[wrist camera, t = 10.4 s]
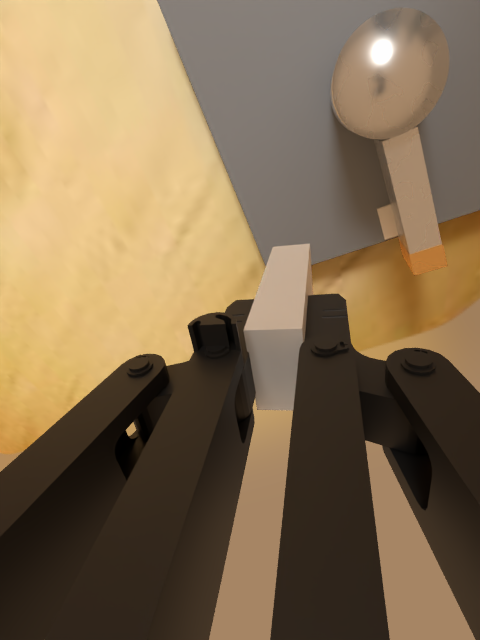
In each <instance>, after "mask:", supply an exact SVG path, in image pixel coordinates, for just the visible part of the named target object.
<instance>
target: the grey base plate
mask: <svg viewBox="0 0 480 640" xmlns="http://www.w3.org/2000/svg"><path fill="white" fill-rule="evenodd" d="M157 1H158V4H159V6H160V9H161V11H162V14H163V16H164V18H165V21H166V23H167V26H168V28H169V31H170V33H171V36H172V38H173V40H174V43H175V45H176V48H177V50H178V53H179V55H180V58H181V60H182V62H183V65H184V67H185V70H186V72H187V75H188V77H189V80H190V82H191V85H192V87H193V89H194V92H195V94H196V97H197V99H198V102H199V104H200V107H201V109H202V111H203V114H204V116H205V119H206V121H207V124H208V126H209V129H210V131H211V133H212V136H213V138H214V141H215V143H216V146H217V148H218V151H219V153H220V156H221V158H222V160H223V163H224V165H225V168H226V170H227V173H228V175H229V178H230V180H231V182H232V185H233V187H234V190H235V192H236V195H237V197H238V200H239V202H240V204H241V207H242V209H243V212H244V214H245V217H246V219H247V222H248V224H249V227H250V229H251V231H252V234H253V236H254V239H255V241H256V244H257V246H258V249H259V251H260V253H261V256H262V258H263V261H264V263H265V266H266V265H267V262H268V259H269V256H270V254H271V251H272V248H273V247H277V246H288V245H299V244H310V253H311V265H313V264H316V263H319V262H322V261H325V260H329V259H332V258H335V257H338V256H341V255H344V254H347V253H350V252H353V251H356V250H359V249H362V248H365V247H368V246H371V245H374V244H378V243H381V242H384V241H387V240H390V239H393V238H396V237H399V236H398V232H397V228H396V224H395V220H394V217H393V213H392V209H391V205H390V201H389V197H388V193H387V189H386V185H385V181H384V177H383V173H382V169H381V165H380V161H379V157H378V153H377V149H376V146H375V142H374V139H370V138H366V137H363V136H360V135H358V134H356V133H353V132H351V131H350V130H348V129H346V128H345V127H344V126H343V125H342V124H341V123H340V122H339V121H338V119H337V118H336V116H335V114H334V112H333V109H332V106H331V102H330V84H331V79H332V75H333V72H334V68H335V65H336V62H337V59H338V56H339V54H340V52H341V50H342V48H343V46H344V45H345V43H346V42H347V40H348V39H349V37H350V36H351V35H352V34H353V32H354V31H355V30H356V29H357V28H358V27H359V26H360V25H361V24H363V23H364V22H365V21H366V20H368V19H369V18H371V17H373V16H374V15H376V14H378V13H380V12H383V11H386V10H389V9H394V8H411V9H416V10H419V11H422V12H423V13H425V14H427V15H429V16H430V17H431V18H432V19H433V20H435V22H436V23H437V24H438V25H439V26H440V28H441V30H442V31H443V33H444V35H445V38H446V40H447V44H448V49H449V71H448V77H447V81H446V84H445V87H444V90H443V92H442V94H441V96H440V98H439V100H438V102H437V103H436V105H435V106H434V108H433V109H432V111H431V112H430V113H429V114H428V115H427V116H426V117H425V118H424V119H423V121H421V122H420V123H419V124H418V125H417V127H418V131H419V135H420V140H421V145H422V150H423V155H424V160H425V165H426V169H427V174H428V179H429V184H430V189H431V194H432V199H433V203H434V208H435V213H436V218H437V223H438V224H439V223H442V222H445V221H448V220H451V219H454V218H457V217H460V216H463V215H466V214H469V213H473V212H476V211H479V210H480V0H157Z"/></svg>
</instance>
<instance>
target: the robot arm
mask: <svg viewBox="0 0 480 640" xmlns="http://www.w3.org/2000/svg"><path fill="white" fill-rule="evenodd" d="M188 329H189V333H190V337H191V341H192V345H193V349H194V353H193V355H192V357H191V359H190V361H187V362H183V363H179V364H174V365H170V366H166V364H165V360H164V359H163V358H162V357H161V356H159V355H156V354H143V355H139V356H136V357H134V358H132V359H129V360H128V361H126V362H125V363H123V364H122V365H121V366H120V367H118V368H117V369H116V370H115V371H114V372H113V373H112V374H111V375H109V376H108V377H107V378H106V379H105V380H104V381H103V382H102V383H100V384H99V385H98V386H97V387H96V388H95V389H94V390H92V391H91V392H90V393H89V394H88V395H87V396H86V397H85V398H83V399H82V400H81V401H80V402H79V403H78V404H77V405H76V406H74V407H73V408H72V409H71V410H70V411H69V412H68V413H66V414H65V415H64V416H63V417H62V418H61V419H60V420H59V421H57V422H56V423H55V424H54V425H53V426H52V427H51V428H50V429H48V430H47V431H46V432H45V433H44V434H43V435H42V436H40V437H39V438H38V439H37V440H36V441H35V442H34V443H33V444H31V445H30V446H29V447H28V448H27V449H26V450H25V451H24V452H22V453H21V454H20V455H19V456H18V457H17V458H16V459H15V460H14V461H12V462H11V463H10V464H9V465H8V466H7V467H5V468H4V469H3V470H2V471H1V472H0V640H209V636H210V631H211V626H212V622H213V616H214V612H215V607H216V603H217V598H218V593H219V589H220V584H221V579H222V574H223V570H224V565H225V560H226V555H227V551H228V546H229V541H230V536H231V532H232V527H233V522H234V517H235V513H236V508H237V503H238V499H239V493H240V489H241V484H242V479H243V475H244V470H245V465H246V460H247V456H248V451H249V446H250V442H251V437H252V432H253V427H254V414H253V408H252V407H253V403H254V399H256V405H257V410H293V419H292V428H291V438H290V449H289V458H288V469H287V478H286V488H285V498H284V509H283V519H282V529H281V538H280V548H279V559H278V569H277V578H276V588H275V599H274V608H273V618H272V628H271V638H270V640H390V639H389V630H388V622H387V615H386V606H385V599H384V590H383V583H382V574H381V566H380V558H379V550H378V542H377V533H376V526H375V517H374V509H373V501H372V493H371V485H370V477H369V469H368V461H367V453H366V445H365V440H366V441H370V442H373V443H376V444H380V445H382V446H383V450H384V453H385V455H386V457H387V459H388V461H389V464H390V465H391V467H392V470H393V472H394V474H395V476H396V478H397V480H398V482H399V484H400V486H401V488H402V490H403V492H404V494H405V496H406V498H407V500H408V502H409V504H410V506H411V508H412V510H413V513H414V515H415V517H416V519H417V520H418V523H419V525H420V527H421V529H422V531H423V533H424V535H425V537H426V539H427V541H428V543H429V545H430V547H431V549H432V551H433V553H434V555H435V557H436V560H437V561H438V564H439V566H440V568H441V570H442V572H443V574H444V576H445V578H446V580H447V582H448V584H449V586H450V588H451V590H452V592H453V594H454V596H455V598H456V600H457V602H458V604H459V606H460V609H461V611H462V613H463V615H464V617H465V619H466V620H467V623H468V625H469V627H470V629H471V631H472V633H473V635H474V637H475V639H476V640H480V393H479V392H478V391H477V390H476V389H475V388H474V387H473V386H472V384H471V383H470V382H469V381H468V380H467V379H466V378H465V377H464V376H463V375H462V374H461V373H460V372H459V371H458V370H457V369H456V368H455V367H454V366H453V364H452V363H451V362H450V361H449V360H447V359H446V358H445V357H443V356H442V355H441V354H439V353H436V352H433V351H431V350H426V349H420V348H404V349H401V350H397V351H395V352H393V353H392V354H390V355H389V356H388V358H387V360H386V361H383V360H377V359H373V358H369V357H367V356H364V355H362V354H360V353H359V352H357V351H356V350H355V349H354V348H353V346H352V344H351V339H350V331H349V323H348V315H347V306H346V300H345V299H344V298H343V297H341V296H340V295H339V294H324V295H313V284H312V268H311V253H310V244H299V245H288V246H277V247H273V248H272V251H271V254H270V256H269V259H268V262H267V265H266V268H265V271H264V273H263V276H262V279H261V282H260V285H259V288H258V290H257V293H256V296H255V299H251V300H236V301H235V302H233V303H232V304H231V305H230V306H228V307H227V309H226V311H225V313H220V312H216V313H209V314H206V315H203V316H200V317H198V318H196V319H194V320H192V321H191V322H190V323H189V325H188ZM132 422H134V424H135V427H136V431H135V432H134V433H133V434H132V435H131V436H128V435H127V432H126V429H127V428H128V427H129V426H130V424H131V423H132Z"/></svg>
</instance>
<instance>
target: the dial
mask: <svg viewBox="0 0 480 640" xmlns="http://www.w3.org/2000/svg"><path fill="white" fill-rule="evenodd" d="M448 71H449V49H448V44H447V40H446V38H445V35H444V33H443V31H442V30H441V28H440V26H439V25H438V24H437V23H436V22H435V20H433V19H432V18H431V17H430V16H429V15H427V14H425V13H423V12H422V11H419V10H416V9H411V8H394V9H389V10H386V11H383V12H380V13H378V14H376V15H374V16H373V17H371V18H369V19H368V20H366V21H365V22H364V23H363V24H361V25H360V26H359V27H358V28H357V29H356V30H355V31H354V32H353V34H352V35H351V36H350V37H349V39H348V40H347V42H346V43H345V45H344V46H343V48H342V50H341V52H340V54H339V56H338V59H337V62H336V65H335V68H334V72H333V75H332V79H331V84H330V102H331V106H332V109H333V112H334V114H335V116H336V118H337V119H338V121H339V122H340V123H341V124H342V125H343V126H344V127H345V128H346V129H348V130H350V131H351V132H353V133H356V134H358V135H360V136H363V137H366V138H370V139H374V142H375V146H376V149H377V153H378V157H379V161H380V165H381V169H382V173H383V177H384V181H385V185H386V189H387V193H388V197H389V201H390V205H391V209H392V213H393V217H394V220H395V224H396V228H397V232H398V236H399V238H398V239H399V243H400V247H401V251H402V255H403V257H404V259H405V261H406V263H407V264H408V266H409V268H410V269H411V271H412V273H413V274H414V276H415V275H418V274H422V273H425V272H429V271H432V270H435V269H439V268H442V267H446V266H447V261H446V256H445V252H444V247H443V244H442V242H441V237H440V232H439V228H438V223H437V218H436V213H435V208H434V203H433V199H432V194H431V189H430V184H429V179H428V174H427V169H426V165H425V160H424V155H423V150H422V145H421V140H420V135H419V131H418V127H417V125H418V124H419V123H420V122H421V121H423V119H424V118H425V117H426V116H427V115H428V114H429V113H430V112H431V111H432V109H433V108H434V106H435V105H436V103H437V102H438V100H439V98H440V96H441V94H442V92H443V90H444V87H445V84H446V81H447V77H448Z"/></svg>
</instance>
